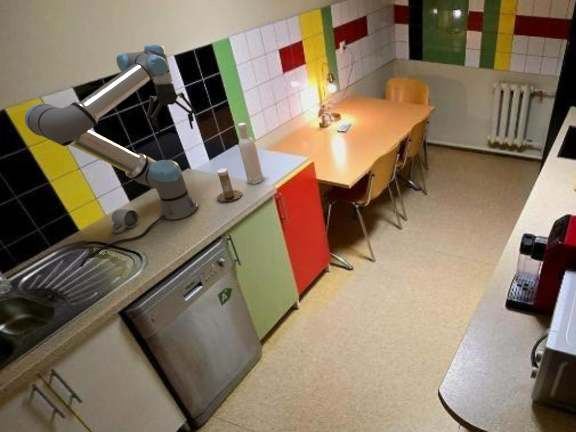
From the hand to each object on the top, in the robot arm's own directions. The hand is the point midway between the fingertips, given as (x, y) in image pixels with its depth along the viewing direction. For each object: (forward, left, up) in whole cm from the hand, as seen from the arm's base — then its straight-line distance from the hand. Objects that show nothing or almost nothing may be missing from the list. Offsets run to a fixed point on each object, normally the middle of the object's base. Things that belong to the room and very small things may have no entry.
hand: (176, 131), depth 192 cm
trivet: (+10, -20, -30) cm, 38 cm away
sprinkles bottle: (+10, -20, -30) cm, 37 cm away
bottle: (+26, -13, -31) cm, 42 cm away
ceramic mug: (-34, -14, -31) cm, 48 cm away
